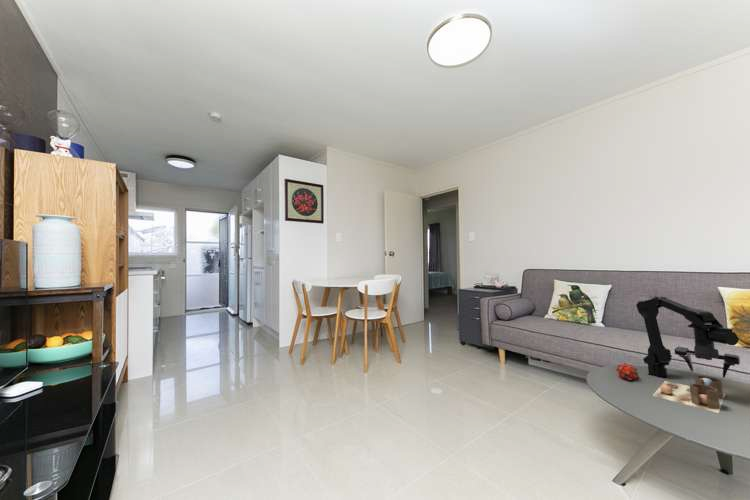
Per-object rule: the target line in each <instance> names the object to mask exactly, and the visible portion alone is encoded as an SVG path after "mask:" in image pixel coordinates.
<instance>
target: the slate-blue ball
mask: <svg viewBox="0 0 750 500" xmlns="http://www.w3.org/2000/svg"><path fill="white" fill-rule="evenodd" d="M701 379H702V380H704V385H707V386H711V380H710V379H708V378H701Z"/></svg>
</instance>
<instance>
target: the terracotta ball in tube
mask: <svg viewBox="0 0 750 500" xmlns="http://www.w3.org/2000/svg"><path fill="white" fill-rule="evenodd" d="M699 397H700V402H701V403H702V404H705V405H708V403H707V395H705V394H700V395H699Z"/></svg>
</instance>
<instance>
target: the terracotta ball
mask: <svg viewBox="0 0 750 500" xmlns="http://www.w3.org/2000/svg"><path fill="white" fill-rule="evenodd" d="M659 387H660V390H661V391H662V392H663V393H665V394H672V392H673V390H672V388H671V387H670V386H668V385H662V384H661V385H660V386H659Z"/></svg>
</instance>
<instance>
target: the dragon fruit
mask: <svg viewBox="0 0 750 500" xmlns="http://www.w3.org/2000/svg"><path fill="white" fill-rule="evenodd" d="M637 370H638V368H637V367H635V366H633V365H632V364H630V363H626V362H623V363H622V364H618V365H617V368H616V370H615V371H616V373H617V374H618V376H619V377H620V378H621V379H624V380H627V381H636V380H638V379H640V374H639V372H638V371H637Z"/></svg>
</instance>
